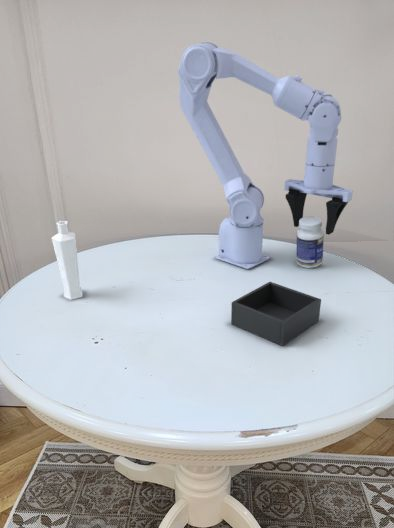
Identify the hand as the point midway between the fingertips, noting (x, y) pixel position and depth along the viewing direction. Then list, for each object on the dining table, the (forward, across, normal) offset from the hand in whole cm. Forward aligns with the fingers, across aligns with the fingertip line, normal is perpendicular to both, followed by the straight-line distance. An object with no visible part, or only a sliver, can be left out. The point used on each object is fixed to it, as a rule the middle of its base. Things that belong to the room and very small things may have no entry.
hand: (313, 229), depth 113 cm
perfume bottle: (+8, -29, -42) cm, 52 cm away
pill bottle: (+8, 0, 0) cm, 8 cm away
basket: (+8, +8, -27) cm, 29 cm away
